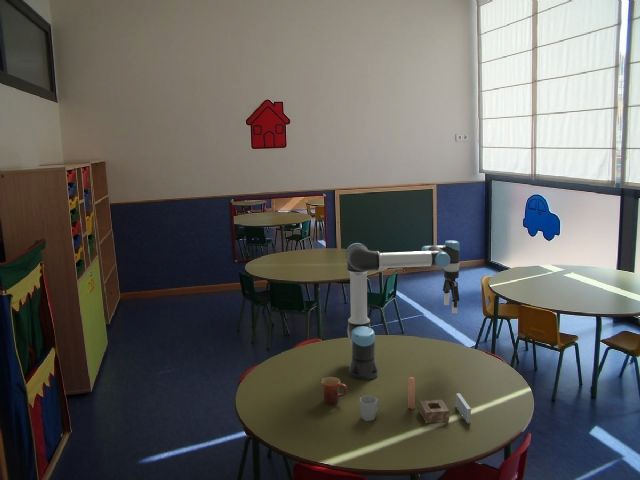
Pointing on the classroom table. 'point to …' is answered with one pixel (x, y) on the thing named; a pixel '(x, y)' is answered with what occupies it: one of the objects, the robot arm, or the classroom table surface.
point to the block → (434, 411)
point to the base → (463, 407)
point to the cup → (369, 407)
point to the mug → (332, 390)
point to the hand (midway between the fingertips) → (450, 308)
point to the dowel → (411, 392)
